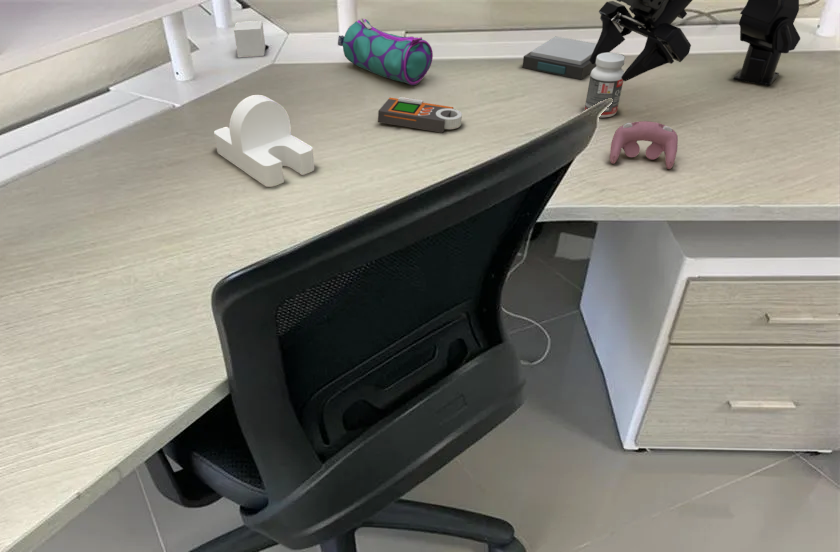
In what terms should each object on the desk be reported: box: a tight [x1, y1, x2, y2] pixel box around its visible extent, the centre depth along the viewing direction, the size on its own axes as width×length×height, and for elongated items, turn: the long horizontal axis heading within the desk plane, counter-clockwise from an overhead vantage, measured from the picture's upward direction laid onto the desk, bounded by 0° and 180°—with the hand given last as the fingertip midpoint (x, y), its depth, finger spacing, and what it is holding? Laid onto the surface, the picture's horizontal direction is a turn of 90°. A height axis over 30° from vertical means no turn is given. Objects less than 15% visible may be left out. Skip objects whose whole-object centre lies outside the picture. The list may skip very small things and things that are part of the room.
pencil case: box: [337, 17, 434, 86], centre depth 145 cm, size 21×9×10 cm, turn 39°
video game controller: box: [609, 120, 679, 170], centre depth 112 cm, size 10×5×7 cm, turn 71°
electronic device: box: [377, 96, 463, 133], centre depth 128 cm, size 7×3×15 cm
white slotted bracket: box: [213, 94, 315, 188], centre depth 117 cm, size 10×18×11 cm, turn 36°
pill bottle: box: [584, 51, 626, 119], centre depth 125 cm, size 6×6×10 cm
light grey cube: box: [233, 20, 266, 58], centre depth 161 cm, size 6×6×6 cm
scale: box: [521, 35, 597, 81], centre depth 146 cm, size 13×13×3 cm
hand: (606, 70), depth 123 cm, fingers open, 9 cm apart
